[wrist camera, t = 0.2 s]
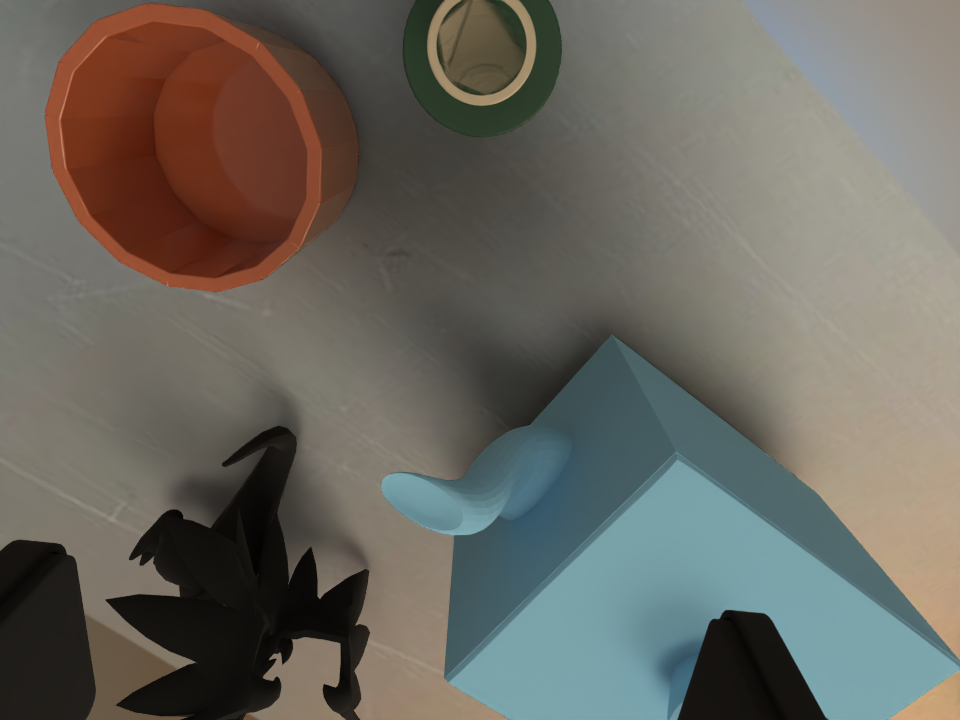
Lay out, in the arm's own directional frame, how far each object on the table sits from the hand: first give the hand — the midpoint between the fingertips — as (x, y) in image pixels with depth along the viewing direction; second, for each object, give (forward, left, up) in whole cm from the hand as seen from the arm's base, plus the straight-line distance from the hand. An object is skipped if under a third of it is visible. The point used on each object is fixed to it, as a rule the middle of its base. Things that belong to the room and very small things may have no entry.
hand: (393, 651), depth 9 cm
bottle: (-9, 0, -20) cm, 22 cm away
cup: (-5, -9, -20) cm, 23 cm away
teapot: (+8, +8, -20) cm, 23 cm away
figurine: (+14, -6, -20) cm, 25 cm away
